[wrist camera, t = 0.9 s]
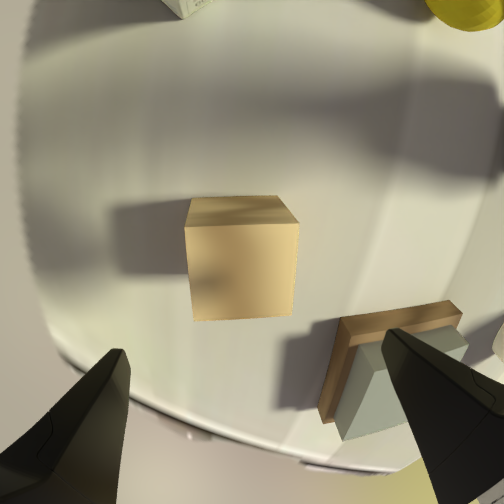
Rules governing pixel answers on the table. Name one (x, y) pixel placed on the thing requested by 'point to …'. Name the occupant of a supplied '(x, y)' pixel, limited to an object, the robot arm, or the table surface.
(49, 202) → the table surface
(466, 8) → the lemon
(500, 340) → the cylinder with rectangular tab
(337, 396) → the walnut slab
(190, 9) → the light bulb box
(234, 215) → the oak cube
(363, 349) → the slate slab
